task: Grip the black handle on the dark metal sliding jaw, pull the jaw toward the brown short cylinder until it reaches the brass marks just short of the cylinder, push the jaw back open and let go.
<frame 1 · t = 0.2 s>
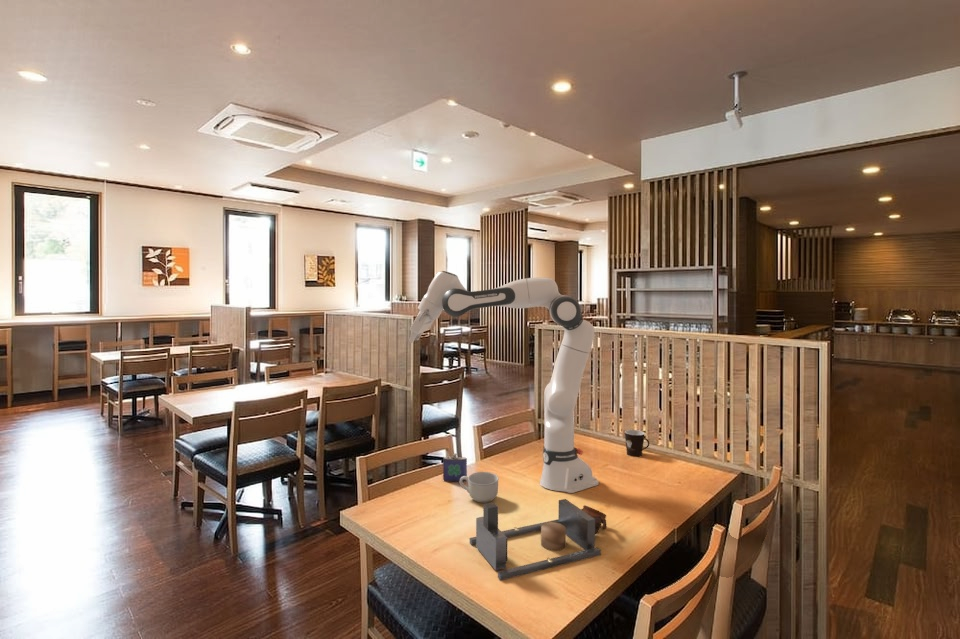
hand: (413, 340, 191), 54 cm above the table, tool tilted 30°, fingers open, 8 cm apart
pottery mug: (591, 532, 152), on the table
press frame: (535, 548, 142), on the table
flask: (454, 481, 193), on the table
sliding jaw: (491, 531, 136), point 8 cm above the table, slide at 0.0 cm
coffee mug: (635, 455, 223), on the table
brown short cylinder: (553, 544, 144), resting in press frame
teacup: (479, 499, 176), on the table
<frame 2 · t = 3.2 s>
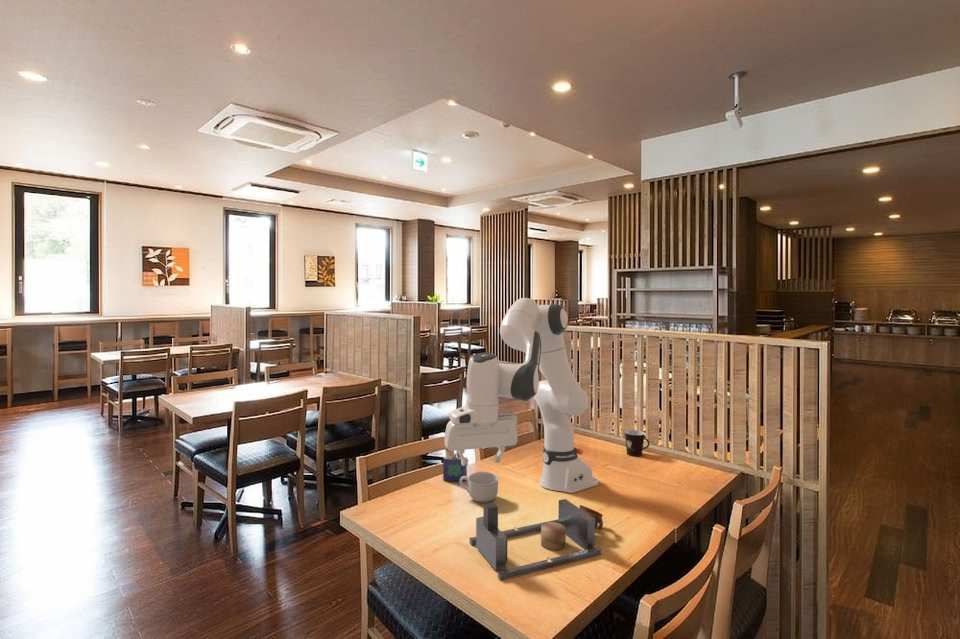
hand: (481, 463, 136), 26 cm above the table, tool pointing down, fingers open, 8 cm apart
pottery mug: (587, 532, 152), on the table
everything else where it was.
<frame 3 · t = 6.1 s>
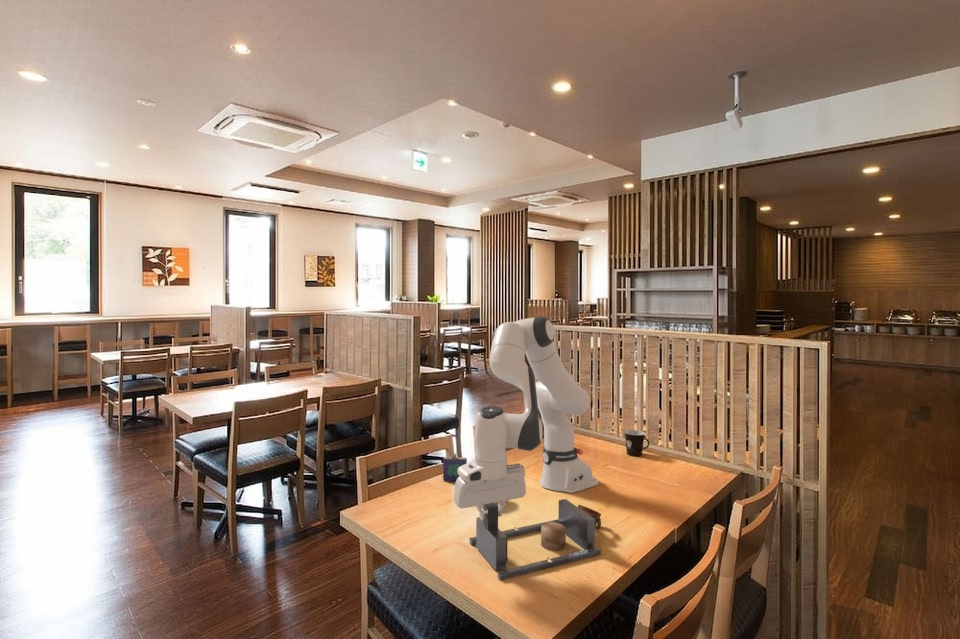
hand: (490, 517, 135), 12 cm above the table, tool pointing down, fingers closed on sliding jaw, 3 cm apart
sliding jaw: (491, 531, 136), point 8 cm above the table, slide at 0.0 cm, touching gripper
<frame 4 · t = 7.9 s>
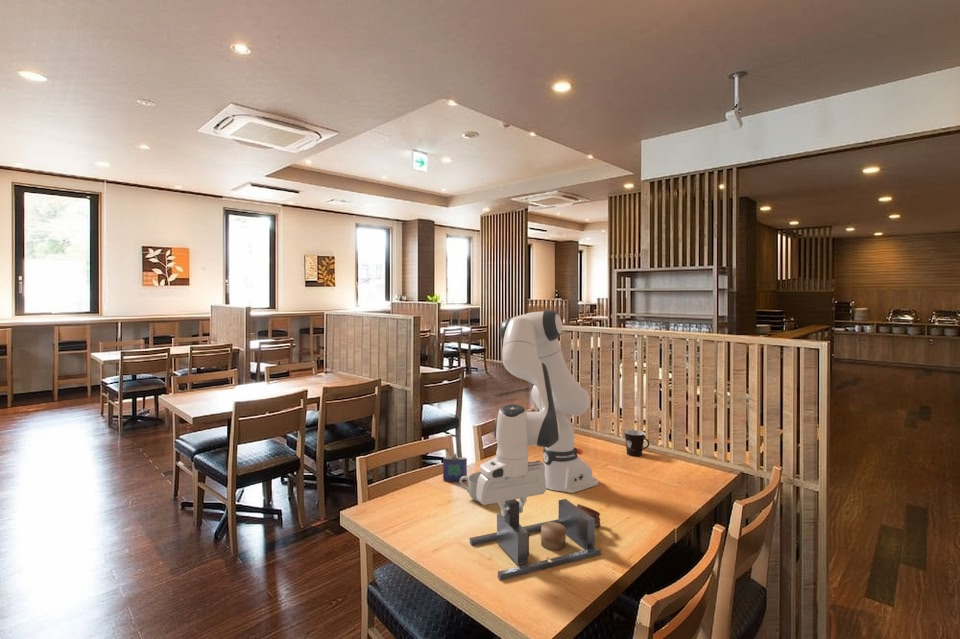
hand: (511, 513, 138), 11 cm above the table, tool pointing down, fingers closed on sliding jaw, 3 cm apart
sliding jaw: (512, 526, 138), point 8 cm above the table, slide at 6.5 cm, touching gripper
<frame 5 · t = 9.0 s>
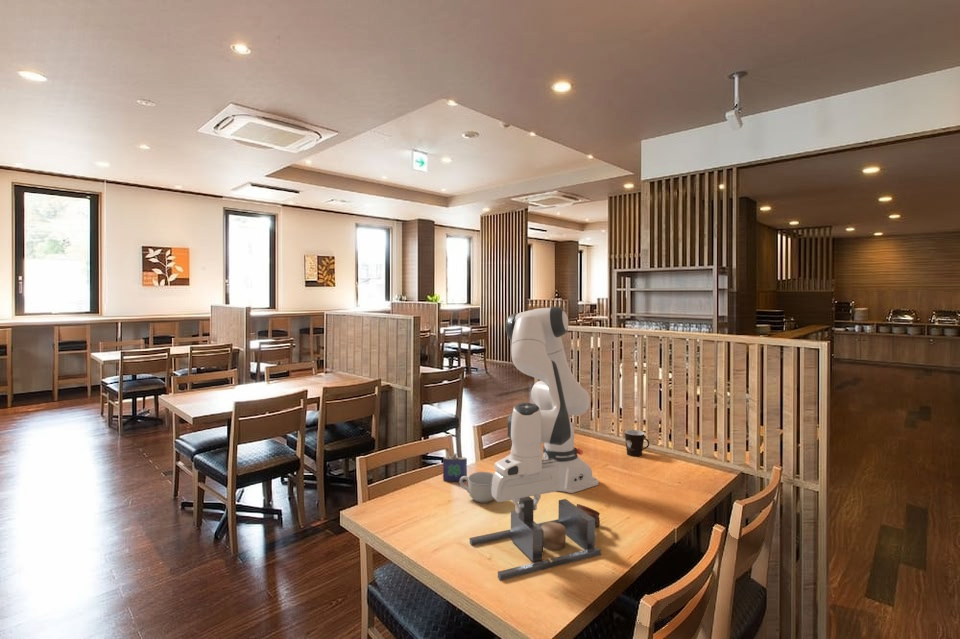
hand: (526, 510, 140), 11 cm above the table, tool pointing down, fingers closed on sliding jaw, 3 cm apart
sliding jaw: (527, 523, 140), point 8 cm above the table, slide at 11.0 cm, touching gripper
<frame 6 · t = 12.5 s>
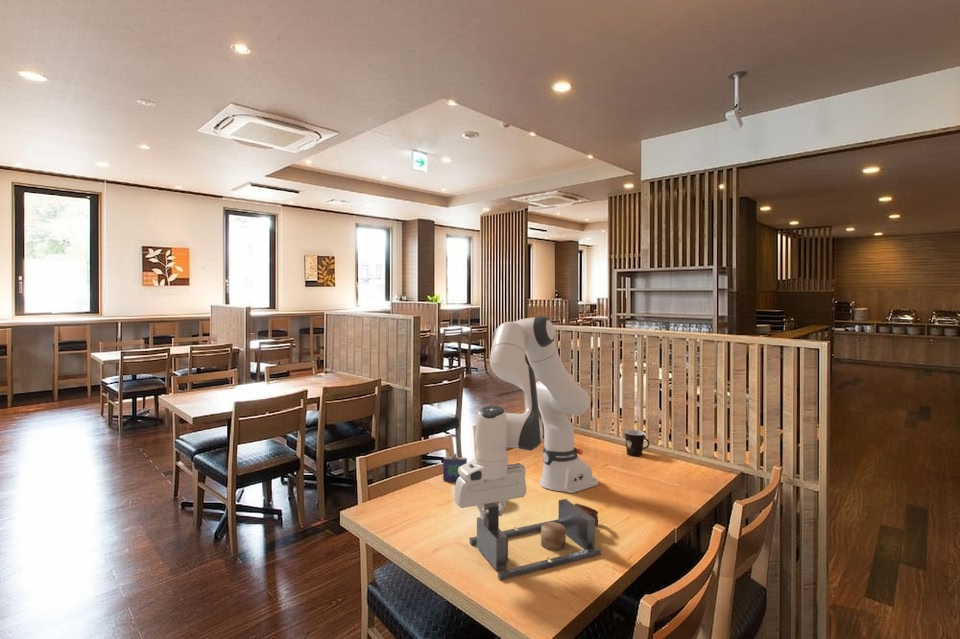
hand: (491, 517, 135), 12 cm above the table, tool pointing down, fingers closed on sliding jaw, 3 cm apart
sliding jaw: (492, 530, 136), point 8 cm above the table, slide at 0.2 cm, touching gripper
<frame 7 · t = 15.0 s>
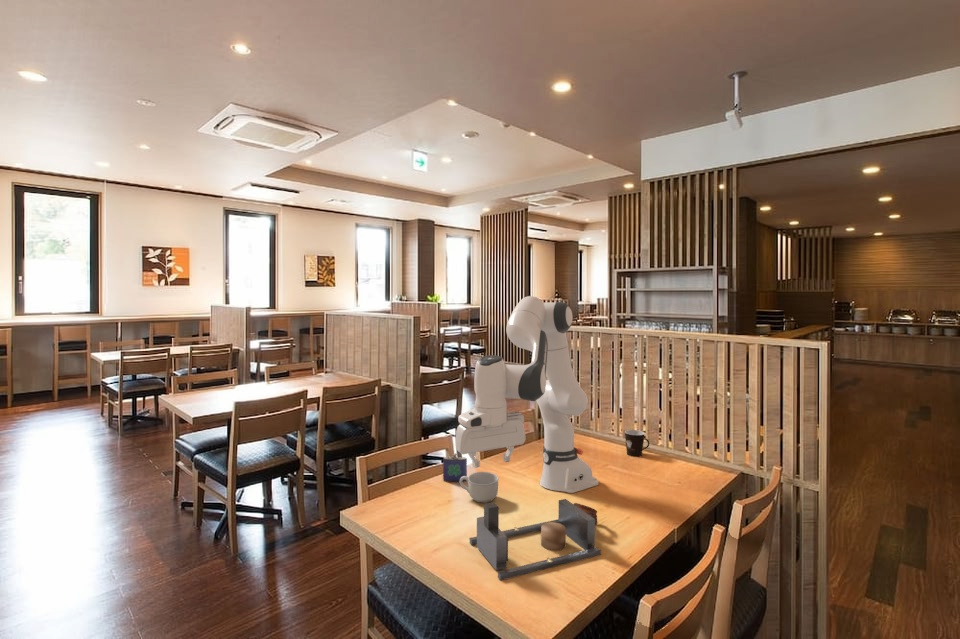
hand: (491, 464, 138), 25 cm above the table, tool pointing down, fingers open, 8 cm apart
sliding jaw: (492, 531, 136), point 8 cm above the table, slide at 0.2 cm
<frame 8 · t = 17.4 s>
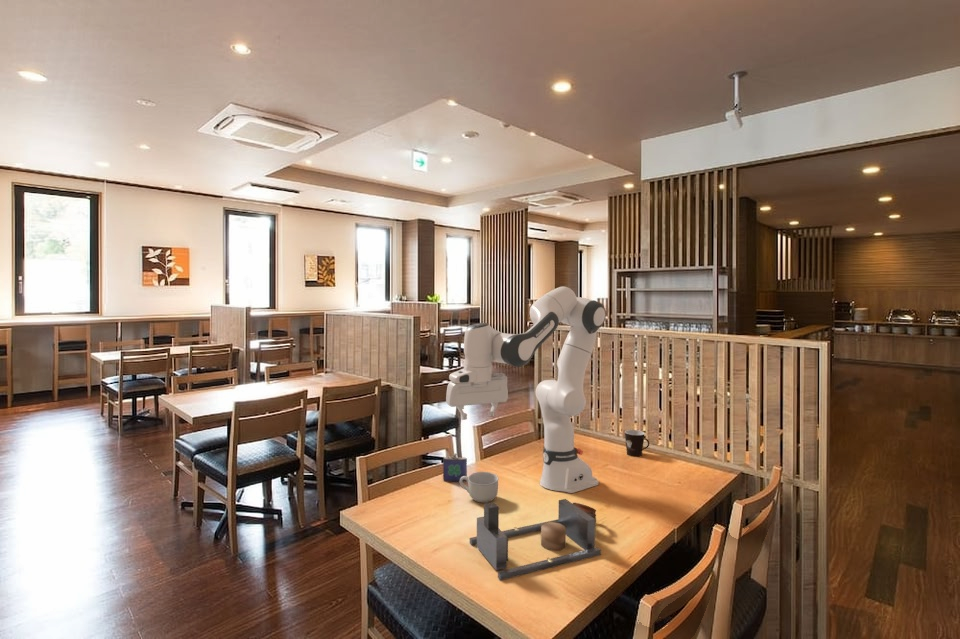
hand: (477, 417, 158), 33 cm above the table, tool pointing down, fingers open, 8 cm apart
at the end: sliding jaw slide at 0.2 cm; brown short cylinder moved 0.1 cm from its start; the gripper is holding nothing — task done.
